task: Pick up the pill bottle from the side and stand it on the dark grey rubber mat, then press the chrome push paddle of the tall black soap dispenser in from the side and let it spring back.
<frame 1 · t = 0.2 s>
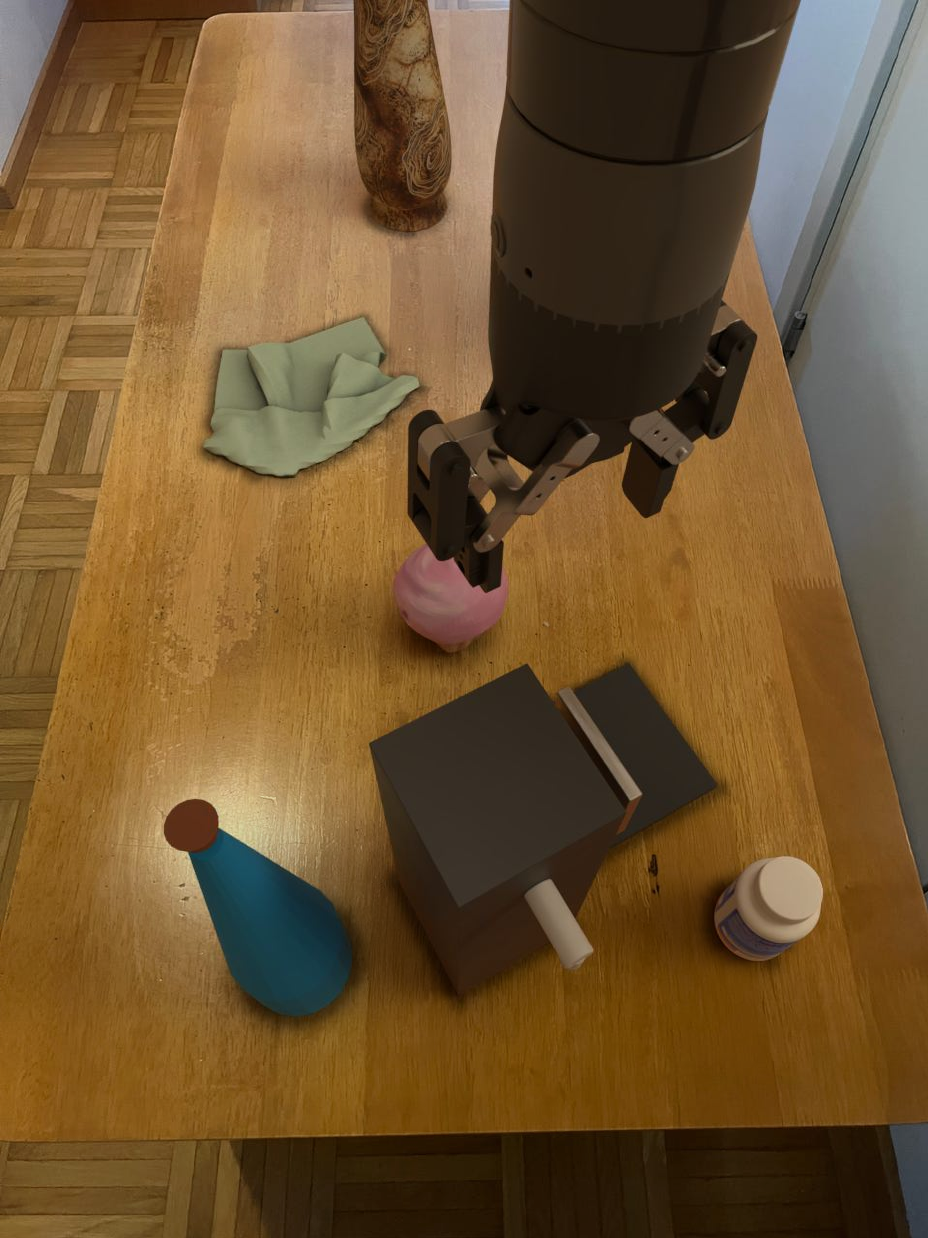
hand: (562, 538, 43), 33 cm above the table, tool pointing down, fingers open, 8 cm apart
cupcake: (452, 630, 78), on the table
bottle: (300, 960, 65), on the table
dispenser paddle: (591, 762, 51), point 20 cm above the table, slide at -0.1 cm
vase: (405, 208, 106), on the table
teapot: (610, 324, 97), on the table
cloth: (314, 394, 92), on the table
soap dispenser: (483, 905, 67), on the table
pill bottle: (749, 923, 66), on the table
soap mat: (607, 759, 72), on the table
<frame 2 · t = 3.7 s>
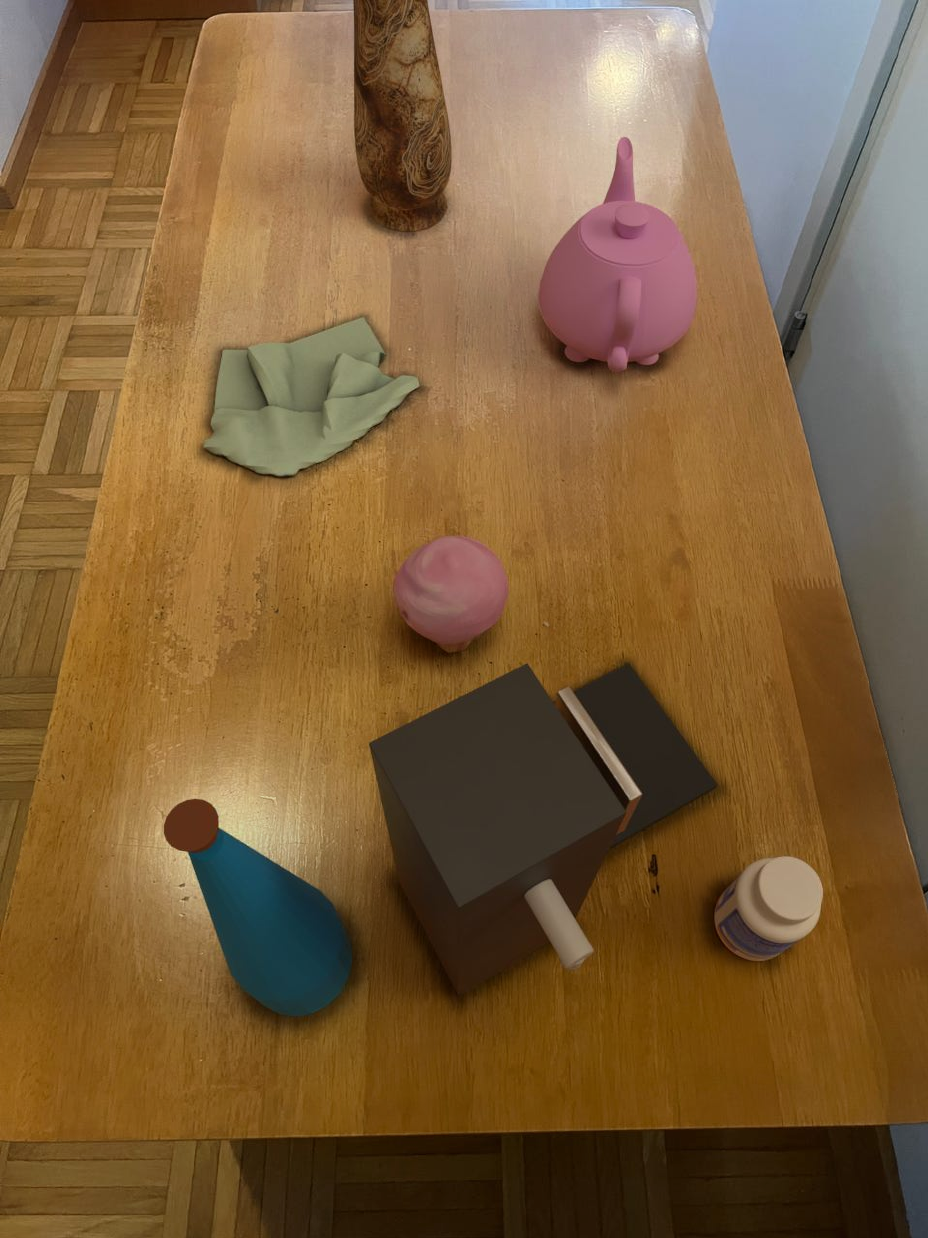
nothing on the table moved.
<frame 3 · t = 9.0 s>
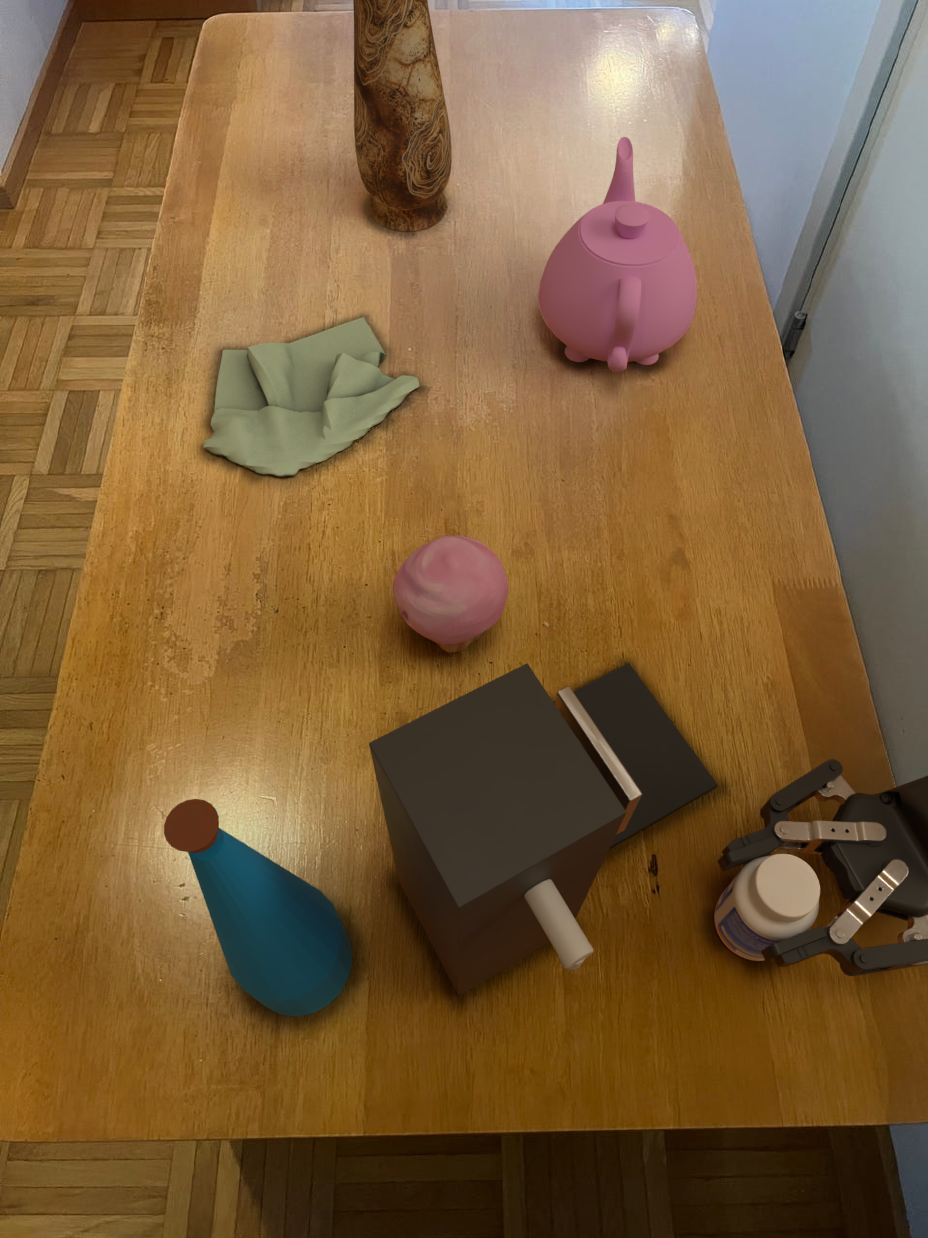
hand: (745, 908, 59), 8 cm above the table, tool horizontal, fingers closed on pill bottle, 5 cm apart
pill bottle: (749, 923, 66), on the table, touching gripper
everything else where it was.
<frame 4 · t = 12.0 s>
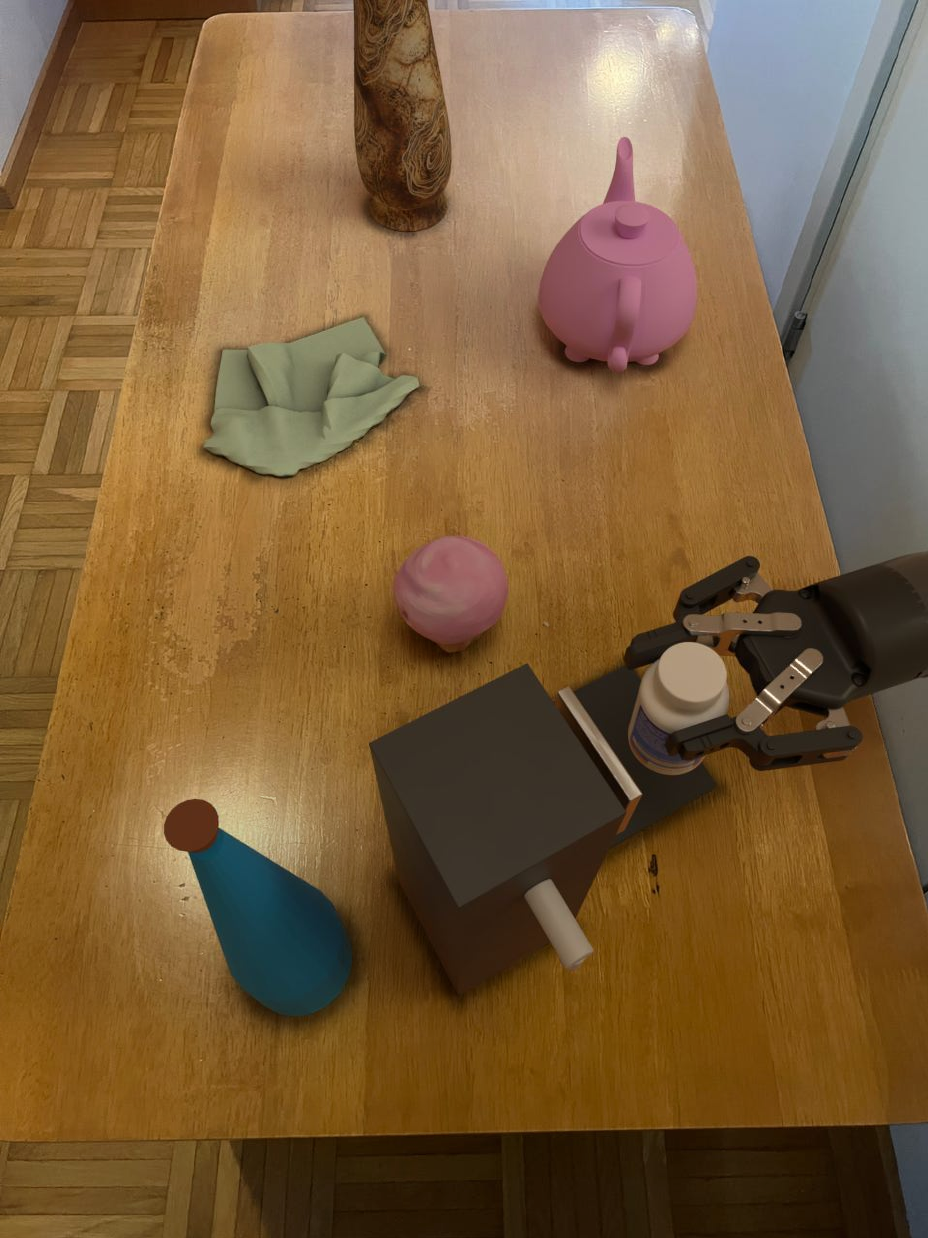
hand: (648, 701, 55), 18 cm above the table, tool horizontal, fingers closed on pill bottle, 5 cm apart
pill bottle: (666, 740, 62), point 10 cm above the table, touching gripper
everything else where it was.
when the fingers open (8 cm above the table, at t = 15.0 s): pill bottle stays where it is, resting on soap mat.
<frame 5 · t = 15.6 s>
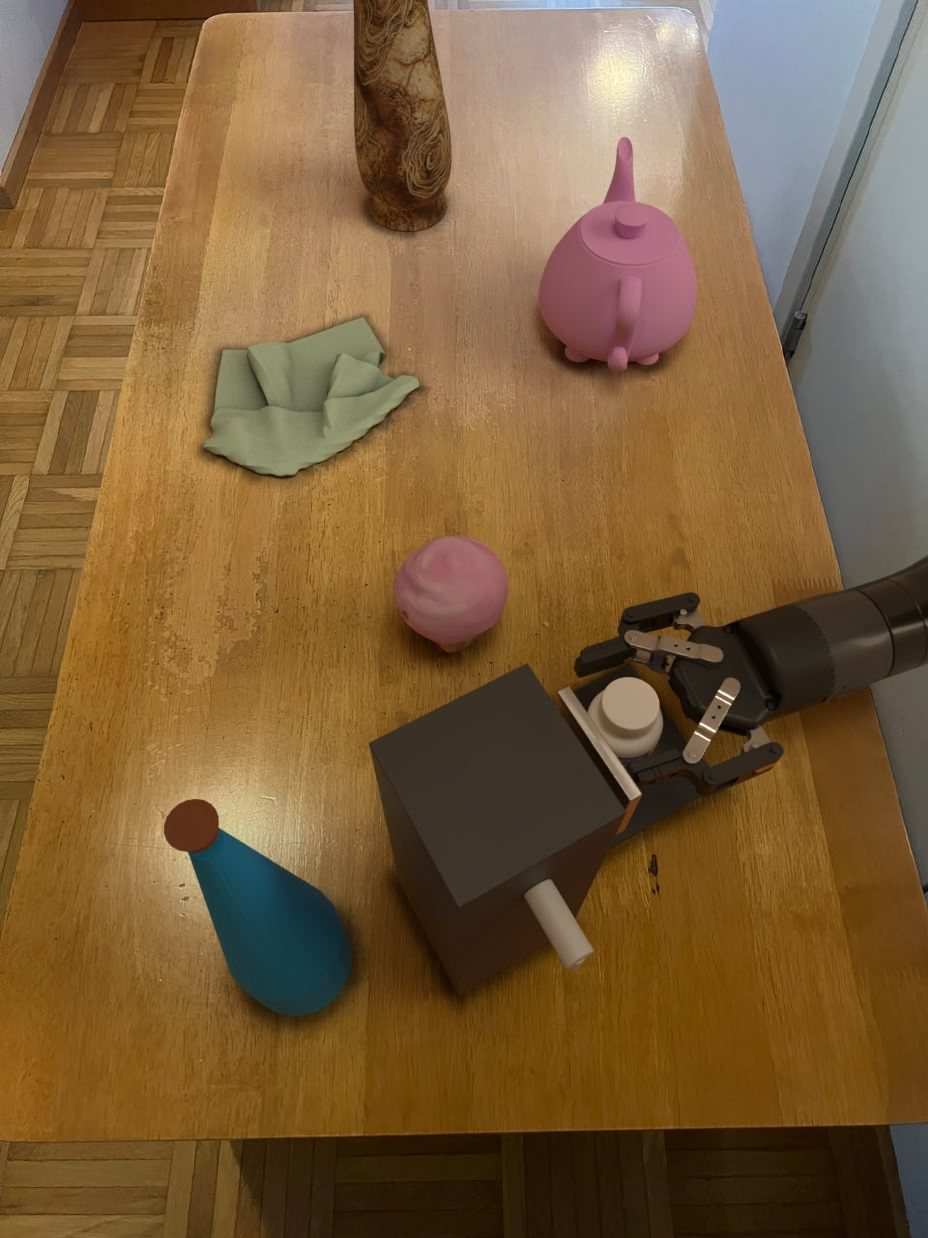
hand: (600, 720, 64), 9 cm above the table, tool horizontal, fingers open, 8 cm apart
pill bottle: (611, 757, 72), resting on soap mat
everything else where it was.
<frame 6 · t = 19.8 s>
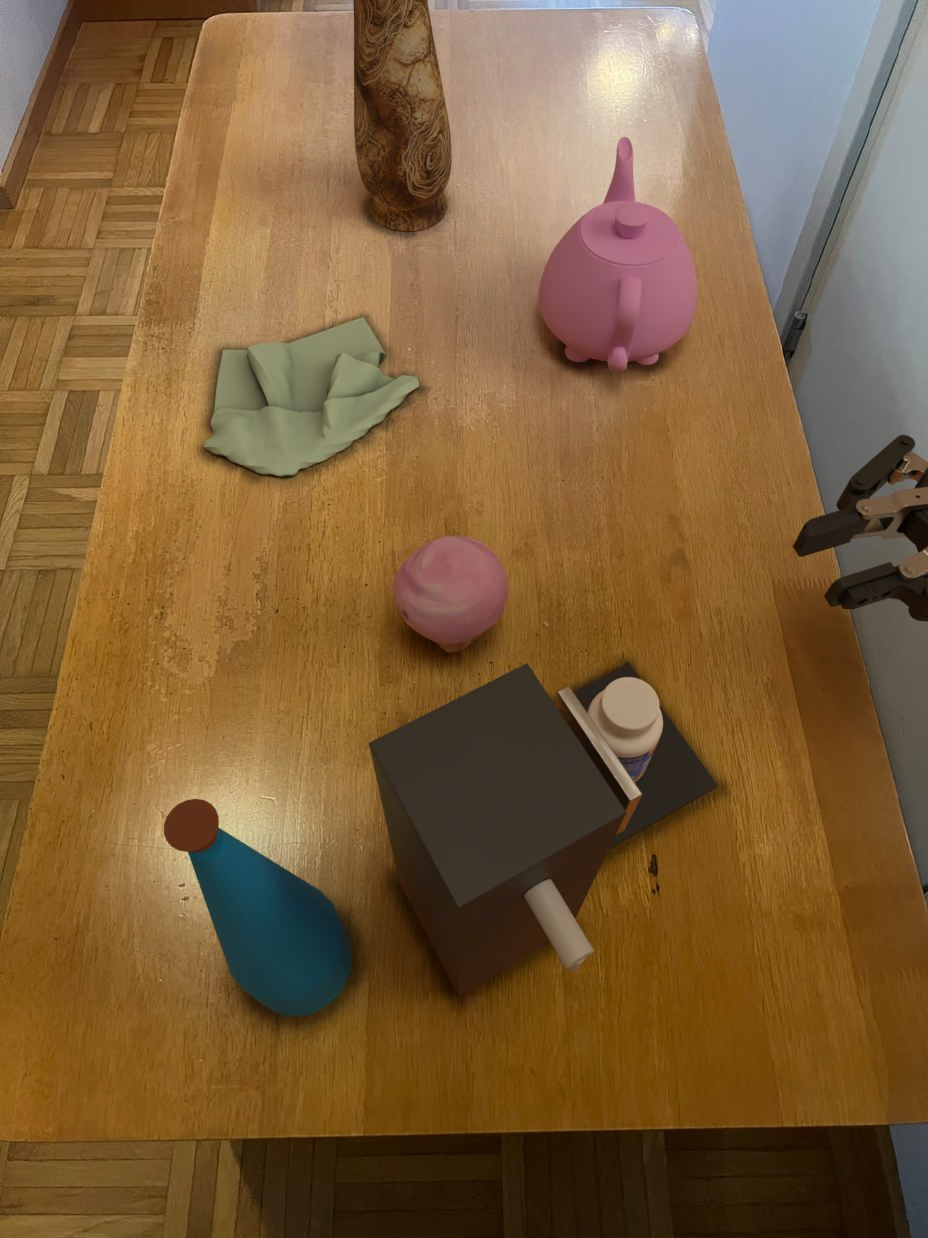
hand: (816, 568, 55), 22 cm above the table, tool horizontal, fingers open, 3 cm apart
nothing on the table moved.
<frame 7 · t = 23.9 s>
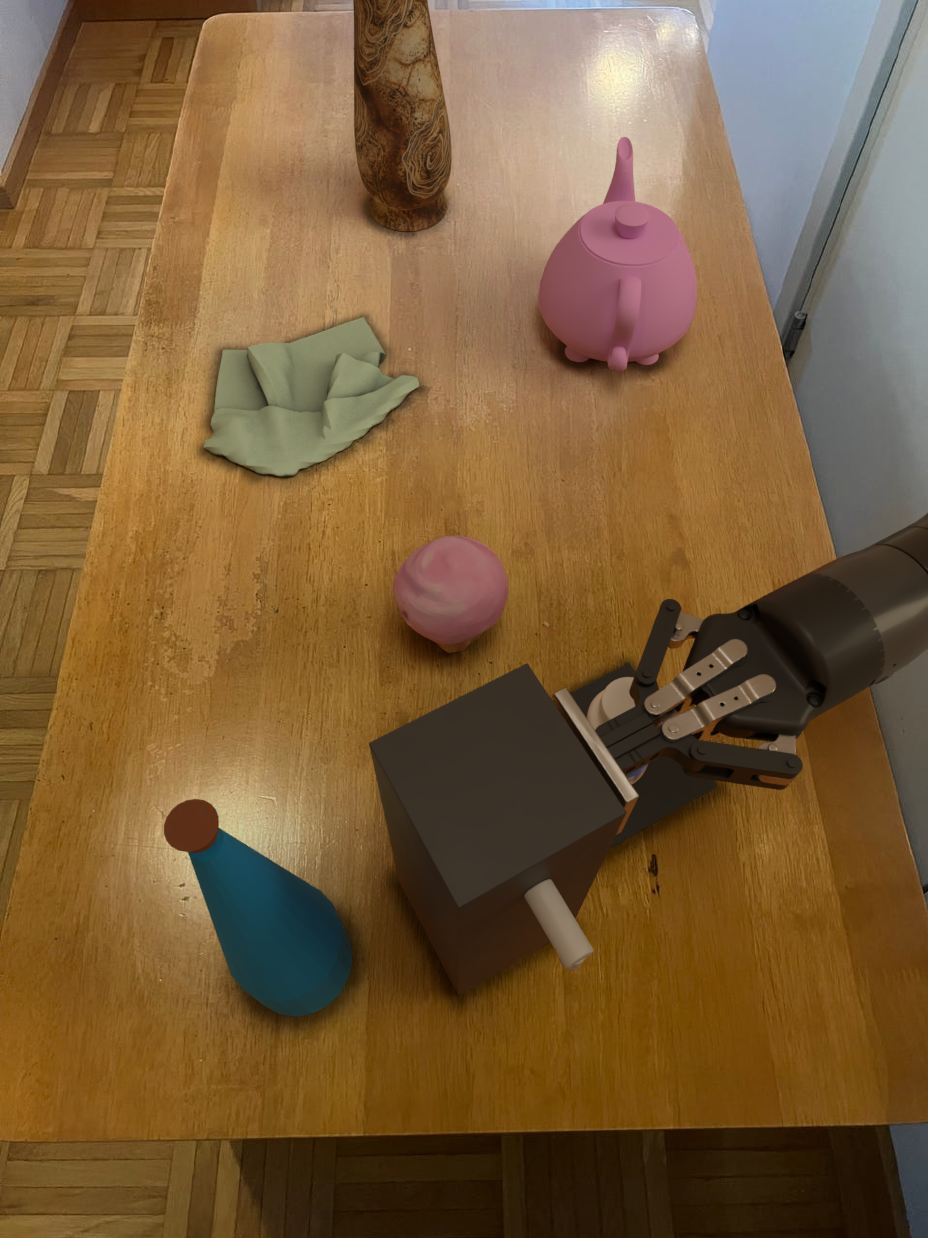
hand: (594, 761, 51), 20 cm above the table, tool horizontal, fingers closed
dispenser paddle: (588, 764, 51), point 20 cm above the table, slide at 0.1 cm, touching gripper
everything else where it was.
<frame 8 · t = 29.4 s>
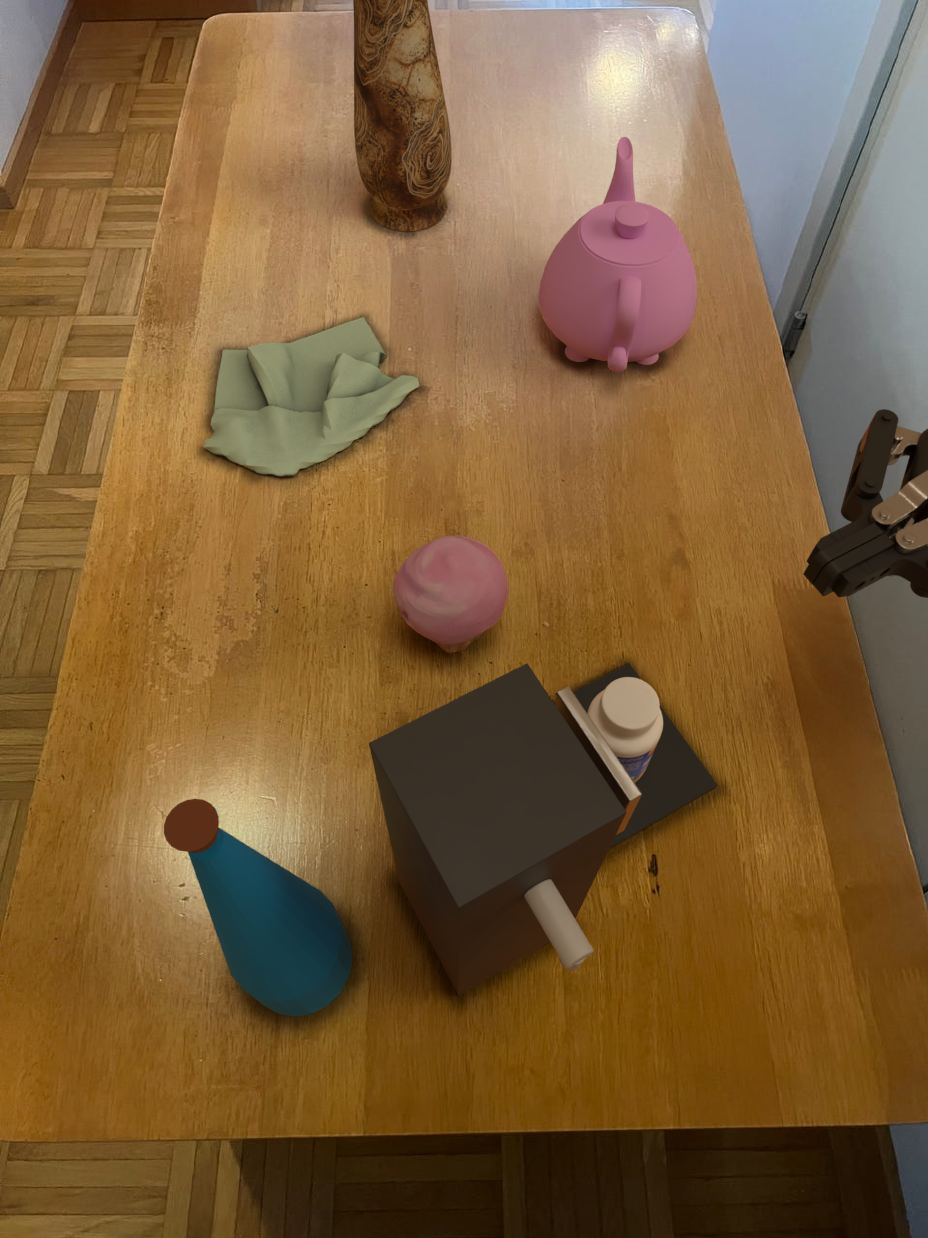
hand: (818, 576, 45), 30 cm above the table, tool horizontal, fingers closed
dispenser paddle: (591, 762, 51), point 20 cm above the table, slide at -0.1 cm
everything else where it was.
at the end: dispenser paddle pulled out 0.8 cm at the most during the clip, back to where it started at the end; pill bottle inside the target area on the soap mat (0.3 cm from its centre), point 0.4 cm above the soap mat's base; pill bottle tilted 0° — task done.
